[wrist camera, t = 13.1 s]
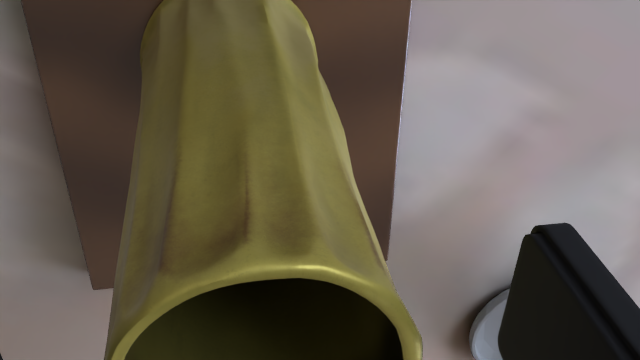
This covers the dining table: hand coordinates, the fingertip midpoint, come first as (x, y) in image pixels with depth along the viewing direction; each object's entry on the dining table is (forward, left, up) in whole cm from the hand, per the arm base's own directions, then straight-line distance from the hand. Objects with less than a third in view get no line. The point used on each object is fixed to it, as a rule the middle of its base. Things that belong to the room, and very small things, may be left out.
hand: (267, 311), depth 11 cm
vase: (0, 0, -13) cm, 13 cm away
